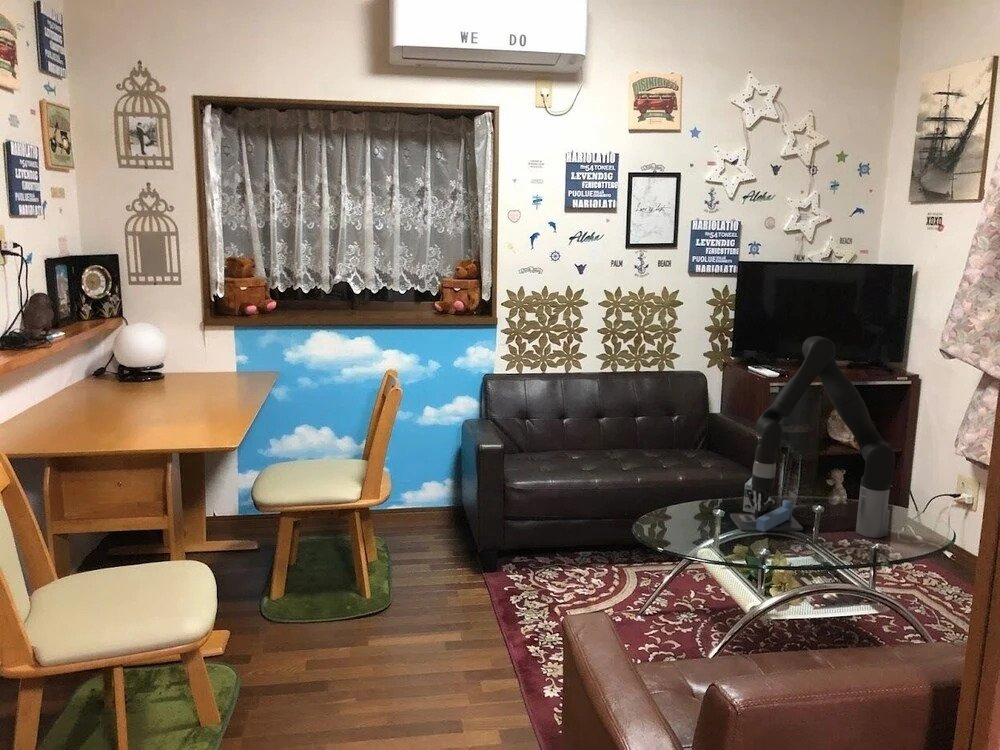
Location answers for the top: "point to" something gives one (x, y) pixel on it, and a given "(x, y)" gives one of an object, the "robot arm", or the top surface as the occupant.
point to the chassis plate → (750, 523)
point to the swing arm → (775, 516)
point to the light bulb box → (747, 504)
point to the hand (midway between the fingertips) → (758, 519)
